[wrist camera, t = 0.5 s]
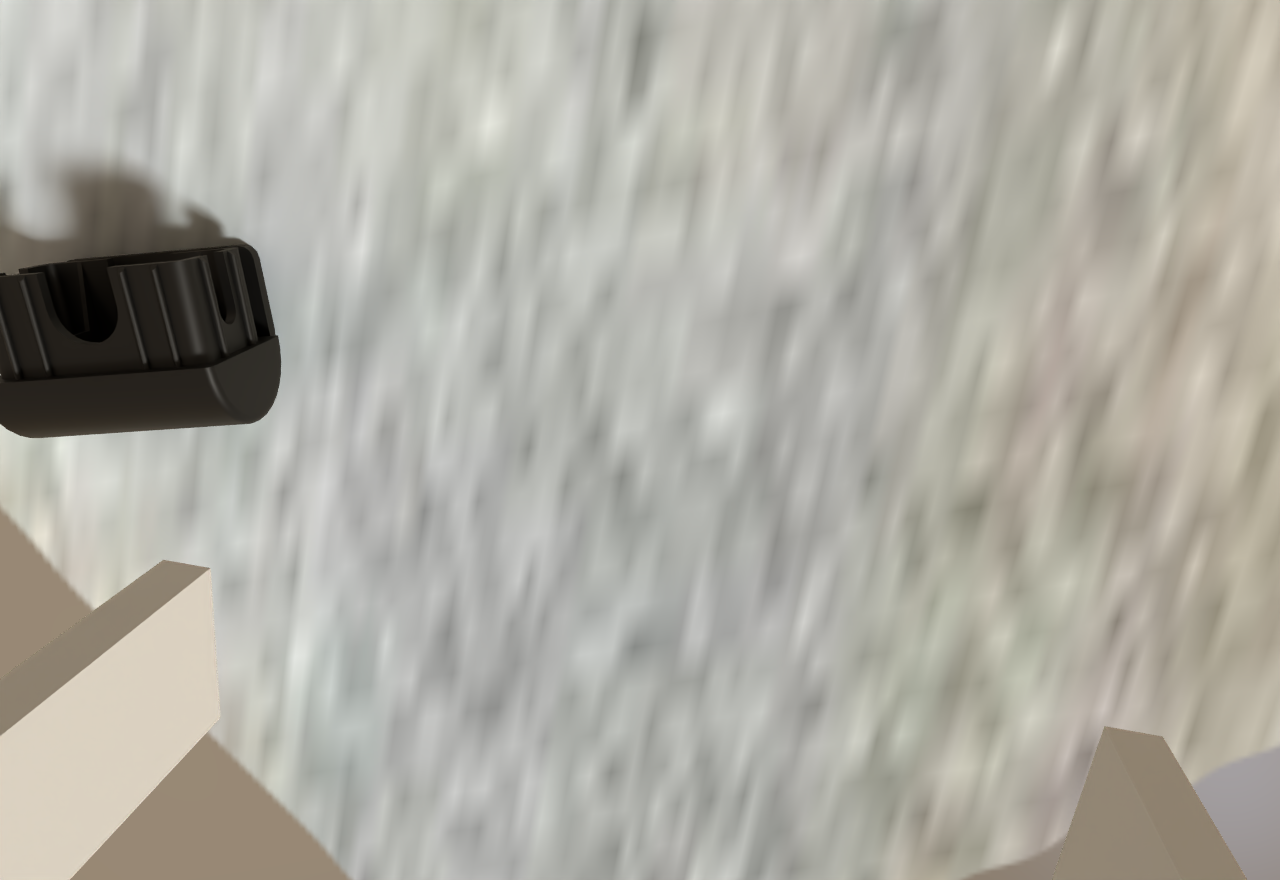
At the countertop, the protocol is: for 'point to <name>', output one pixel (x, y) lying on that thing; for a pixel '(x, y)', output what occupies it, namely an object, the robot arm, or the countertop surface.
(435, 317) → the countertop surface
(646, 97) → the countertop surface
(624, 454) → the countertop surface
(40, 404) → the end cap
